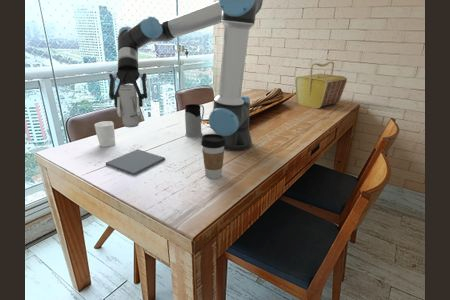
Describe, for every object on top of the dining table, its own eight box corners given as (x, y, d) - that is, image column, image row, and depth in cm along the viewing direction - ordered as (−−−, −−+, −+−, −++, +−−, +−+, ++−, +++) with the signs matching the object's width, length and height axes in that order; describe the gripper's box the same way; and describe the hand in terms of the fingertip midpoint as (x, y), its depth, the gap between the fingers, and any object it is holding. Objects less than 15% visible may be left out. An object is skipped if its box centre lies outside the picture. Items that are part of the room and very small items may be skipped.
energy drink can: (135, 128, 100) (130, 87, 94) (120, 127, 101) (114, 86, 95) (142, 123, 106) (138, 84, 100) (128, 122, 107) (123, 83, 101)
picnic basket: (313, 98, 220) (318, 60, 209) (343, 104, 202) (351, 62, 191) (291, 104, 203) (295, 62, 191) (322, 111, 185) (329, 65, 173)
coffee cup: (202, 170, 103) (201, 132, 97) (224, 169, 103) (224, 132, 98) (202, 181, 95) (201, 141, 89) (226, 180, 96) (226, 140, 90)
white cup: (110, 148, 121) (106, 127, 117) (94, 146, 123) (90, 125, 119) (120, 142, 128) (116, 121, 125) (105, 140, 130) (101, 120, 126)
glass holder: (181, 135, 137) (180, 106, 131) (197, 128, 149) (196, 101, 143) (196, 138, 133) (195, 109, 127) (210, 130, 145) (210, 103, 139)
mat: (165, 159, 111) (164, 157, 110) (134, 175, 98) (133, 173, 98) (137, 151, 118) (137, 149, 118) (106, 164, 106) (105, 162, 106)
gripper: (153, 68, 111) (156, 118, 103) (104, 69, 108) (103, 120, 100) (152, 55, 105) (155, 108, 96) (99, 56, 101) (98, 110, 93)
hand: (128, 114), depth 98 cm, fingers closed on energy drink can, 6 cm apart
